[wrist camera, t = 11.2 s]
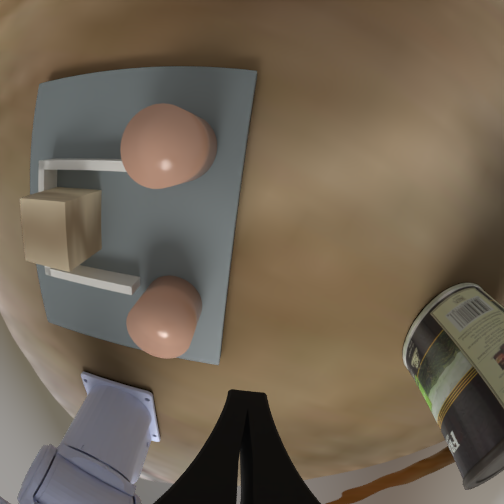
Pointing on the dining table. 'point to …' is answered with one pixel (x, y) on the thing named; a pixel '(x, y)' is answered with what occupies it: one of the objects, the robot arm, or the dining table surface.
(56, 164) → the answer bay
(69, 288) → the slate board
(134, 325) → the pink rounded cylinder
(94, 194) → the maple cube
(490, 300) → the coffee can
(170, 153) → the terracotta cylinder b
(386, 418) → the dining table surface
